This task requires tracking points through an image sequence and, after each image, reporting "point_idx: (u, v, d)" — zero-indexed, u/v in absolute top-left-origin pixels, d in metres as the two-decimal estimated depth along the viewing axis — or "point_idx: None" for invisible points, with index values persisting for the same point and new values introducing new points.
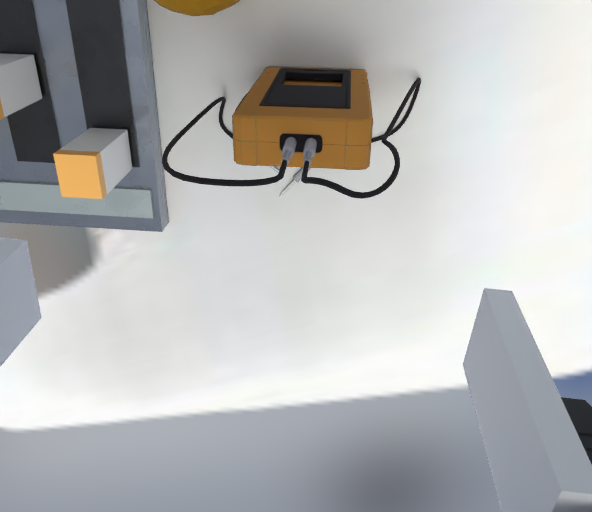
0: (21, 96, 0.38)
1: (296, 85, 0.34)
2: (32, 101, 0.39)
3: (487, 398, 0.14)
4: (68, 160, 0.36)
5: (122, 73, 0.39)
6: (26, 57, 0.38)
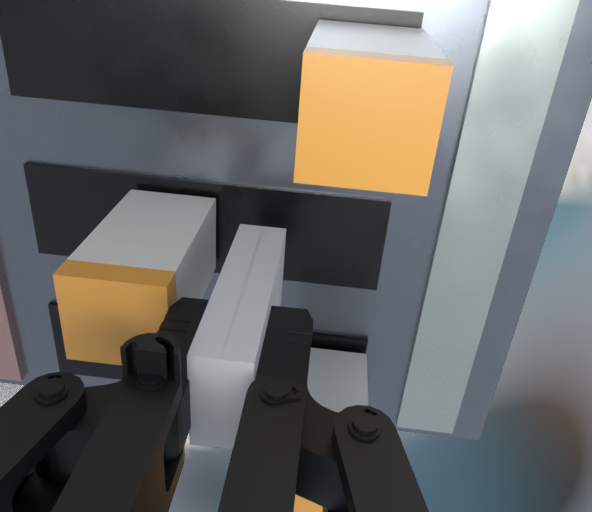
0: (173, 228, 0.17)
1: None
2: (203, 214, 0.18)
3: None
4: (314, 143, 0.12)
5: (188, 4, 0.17)
6: (122, 200, 0.19)
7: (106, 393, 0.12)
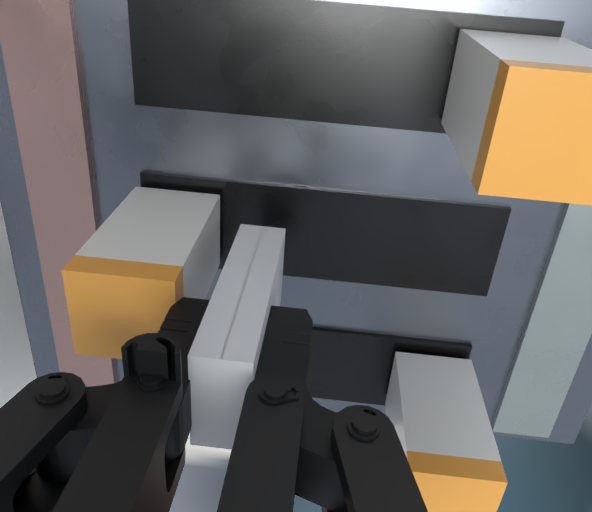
0: (179, 224, 0.17)
1: None
2: (208, 210, 0.18)
3: None
4: (506, 156, 0.12)
5: (326, 13, 0.17)
6: (127, 197, 0.19)
7: (107, 393, 0.12)
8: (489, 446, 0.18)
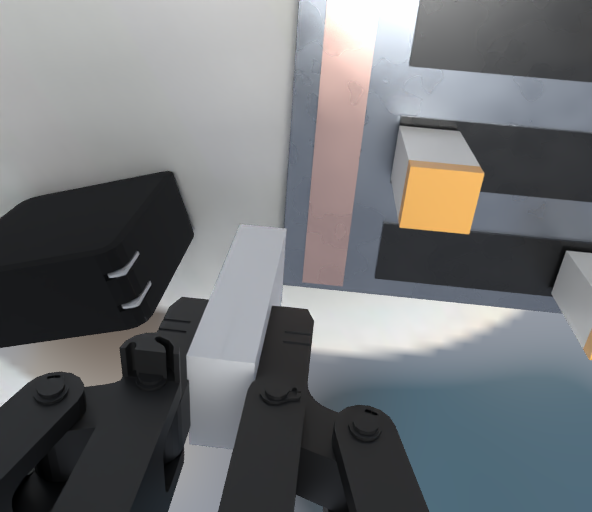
0: (453, 146, 0.26)
1: None
2: (462, 139, 0.27)
3: None
4: None
5: (557, 2, 0.25)
6: (401, 131, 0.27)
7: (106, 393, 0.12)
8: None
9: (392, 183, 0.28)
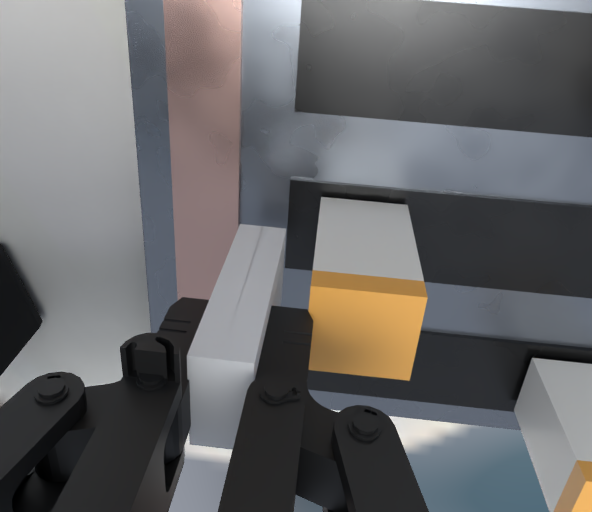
0: (390, 236, 0.17)
1: None
2: (407, 221, 0.18)
3: None
4: None
5: (505, 19, 0.16)
6: (320, 208, 0.19)
7: (106, 393, 0.12)
8: None
9: None
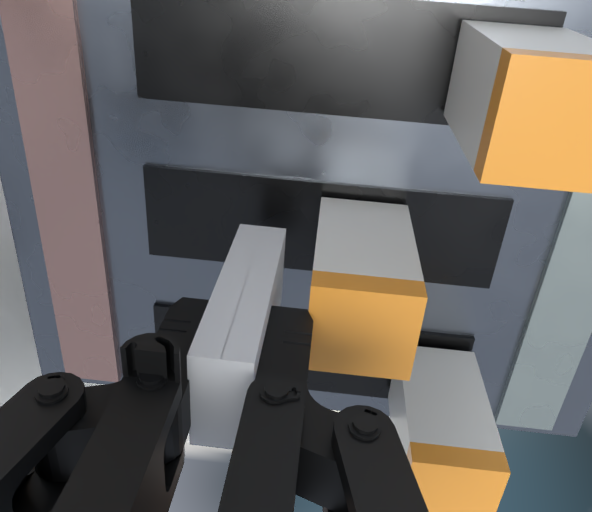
0: (390, 237, 0.17)
1: None
2: (407, 222, 0.18)
3: None
4: (508, 144, 0.12)
5: (328, 5, 0.17)
6: (320, 208, 0.19)
7: (106, 393, 0.12)
8: (492, 437, 0.18)
9: None
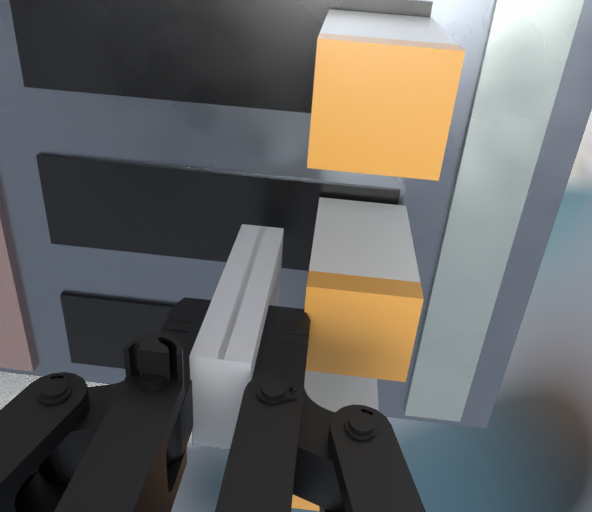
0: (387, 237, 0.17)
1: None
2: (405, 222, 0.18)
3: None
4: (328, 129, 0.12)
5: None
6: (318, 209, 0.19)
7: (109, 393, 0.12)
8: None
9: None
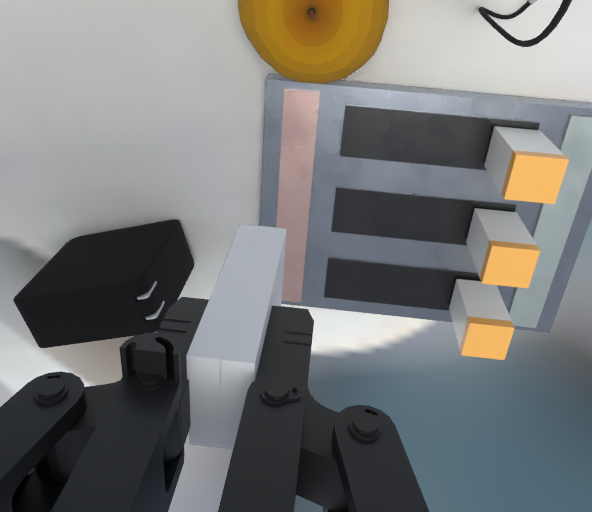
0: (515, 226, 0.38)
1: None
2: (520, 220, 0.39)
3: None
4: (515, 185, 0.33)
5: (434, 118, 0.38)
6: (477, 214, 0.39)
7: (106, 393, 0.12)
8: (506, 315, 0.39)
9: (468, 247, 0.41)
